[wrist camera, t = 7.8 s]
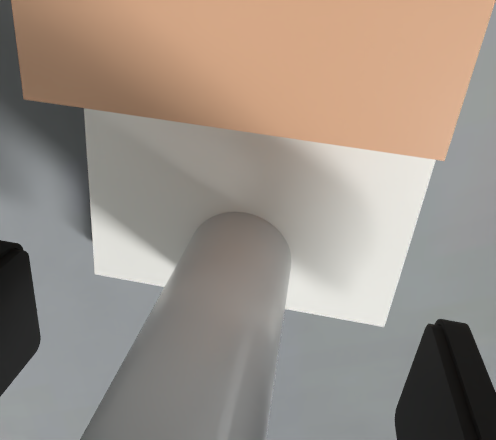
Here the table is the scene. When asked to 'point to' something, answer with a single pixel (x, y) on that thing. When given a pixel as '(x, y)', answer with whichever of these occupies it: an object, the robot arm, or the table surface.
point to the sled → (247, 175)
